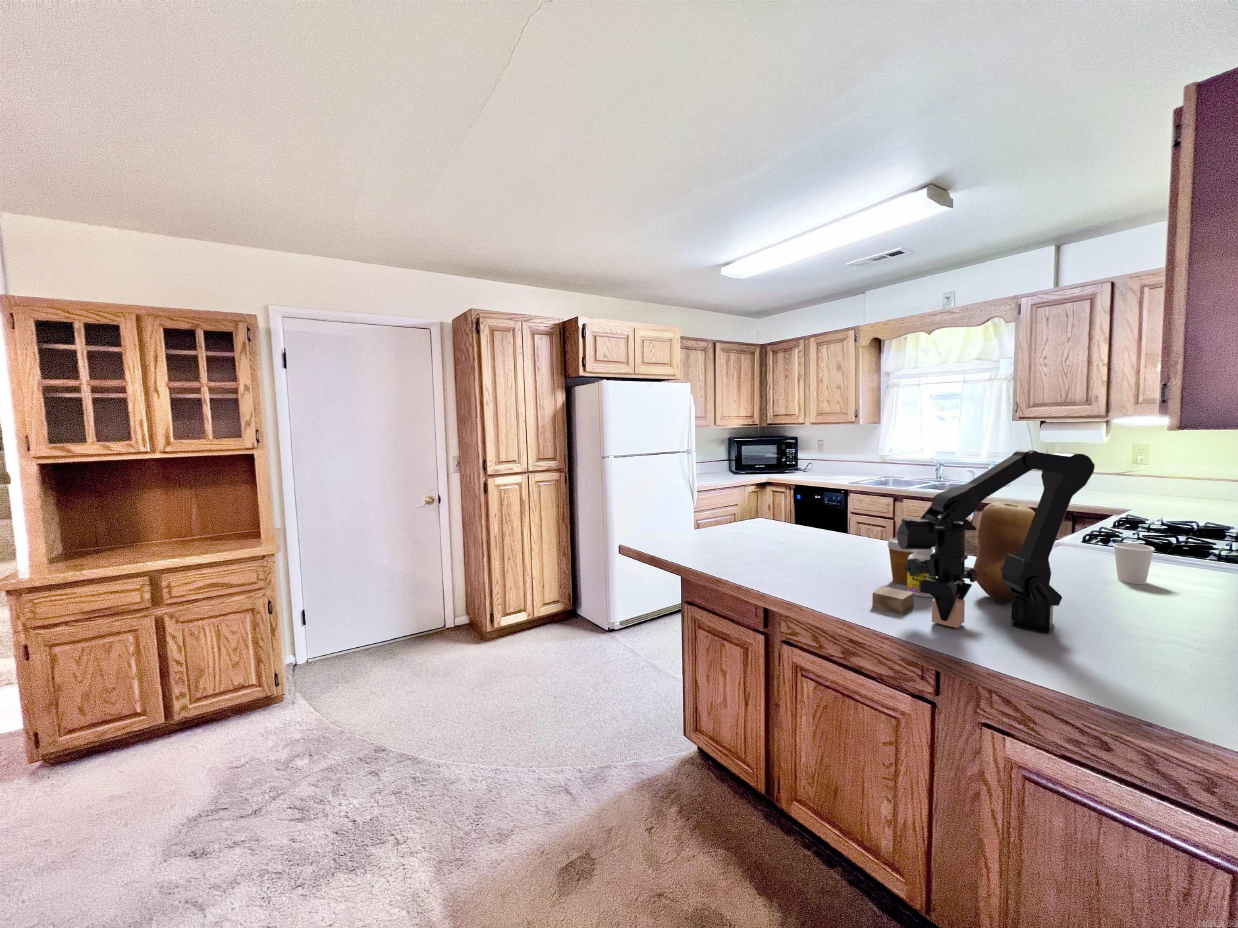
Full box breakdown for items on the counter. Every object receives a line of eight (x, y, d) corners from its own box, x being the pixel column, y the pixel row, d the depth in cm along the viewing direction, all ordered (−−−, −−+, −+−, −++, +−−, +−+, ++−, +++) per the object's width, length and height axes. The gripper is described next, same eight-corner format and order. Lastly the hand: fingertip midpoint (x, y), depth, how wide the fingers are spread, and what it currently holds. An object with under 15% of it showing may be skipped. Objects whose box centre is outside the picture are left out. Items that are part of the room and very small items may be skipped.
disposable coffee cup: (879, 580, 151) (879, 539, 150) (901, 575, 155) (901, 536, 154) (909, 588, 142) (910, 546, 141) (931, 583, 146) (932, 542, 145)
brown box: (913, 608, 128) (913, 592, 128) (902, 615, 123) (902, 599, 123) (884, 601, 133) (884, 586, 133) (872, 608, 129) (872, 592, 128)
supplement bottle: (907, 595, 136) (908, 548, 136) (906, 588, 142) (907, 542, 141) (936, 599, 133) (938, 550, 133) (935, 591, 139) (936, 545, 138)
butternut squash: (1047, 611, 123) (1051, 508, 121) (981, 606, 127) (984, 506, 126) (1023, 594, 136) (1026, 500, 134) (964, 589, 140) (966, 499, 139)
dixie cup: (1103, 576, 149) (1104, 542, 149) (1132, 576, 149) (1134, 542, 148) (1130, 585, 141) (1132, 549, 140) (1162, 585, 141) (1164, 549, 140)
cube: (964, 621, 116) (964, 600, 116) (957, 627, 113) (957, 605, 113) (939, 616, 120) (939, 595, 120) (931, 621, 117) (932, 600, 116)
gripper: (925, 537, 127) (924, 599, 128) (894, 550, 115) (893, 618, 116) (978, 544, 119) (976, 610, 120) (951, 559, 107) (949, 632, 108)
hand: (948, 617), depth 116 cm, fingers closed on cube, 5 cm apart
